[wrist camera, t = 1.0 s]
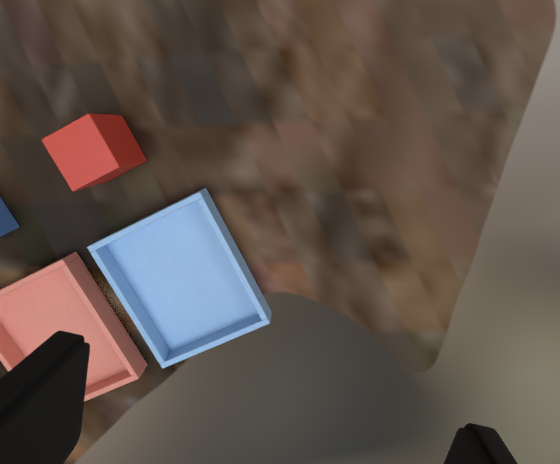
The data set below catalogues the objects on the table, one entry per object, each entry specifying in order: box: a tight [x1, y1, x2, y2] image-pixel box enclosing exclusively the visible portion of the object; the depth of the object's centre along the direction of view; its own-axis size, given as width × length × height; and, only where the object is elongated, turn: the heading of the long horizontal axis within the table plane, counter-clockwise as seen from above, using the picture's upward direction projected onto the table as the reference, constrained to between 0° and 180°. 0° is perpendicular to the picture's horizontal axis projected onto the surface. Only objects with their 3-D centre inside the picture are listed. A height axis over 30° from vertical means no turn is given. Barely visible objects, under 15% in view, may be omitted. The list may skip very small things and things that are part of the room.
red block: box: [42, 113, 147, 191], centre depth 34 cm, size 5×5×6 cm
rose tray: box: [0, 252, 148, 401], centre depth 41 cm, size 14×12×2 cm
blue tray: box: [87, 188, 272, 368], centre depth 39 cm, size 14×12×2 cm
